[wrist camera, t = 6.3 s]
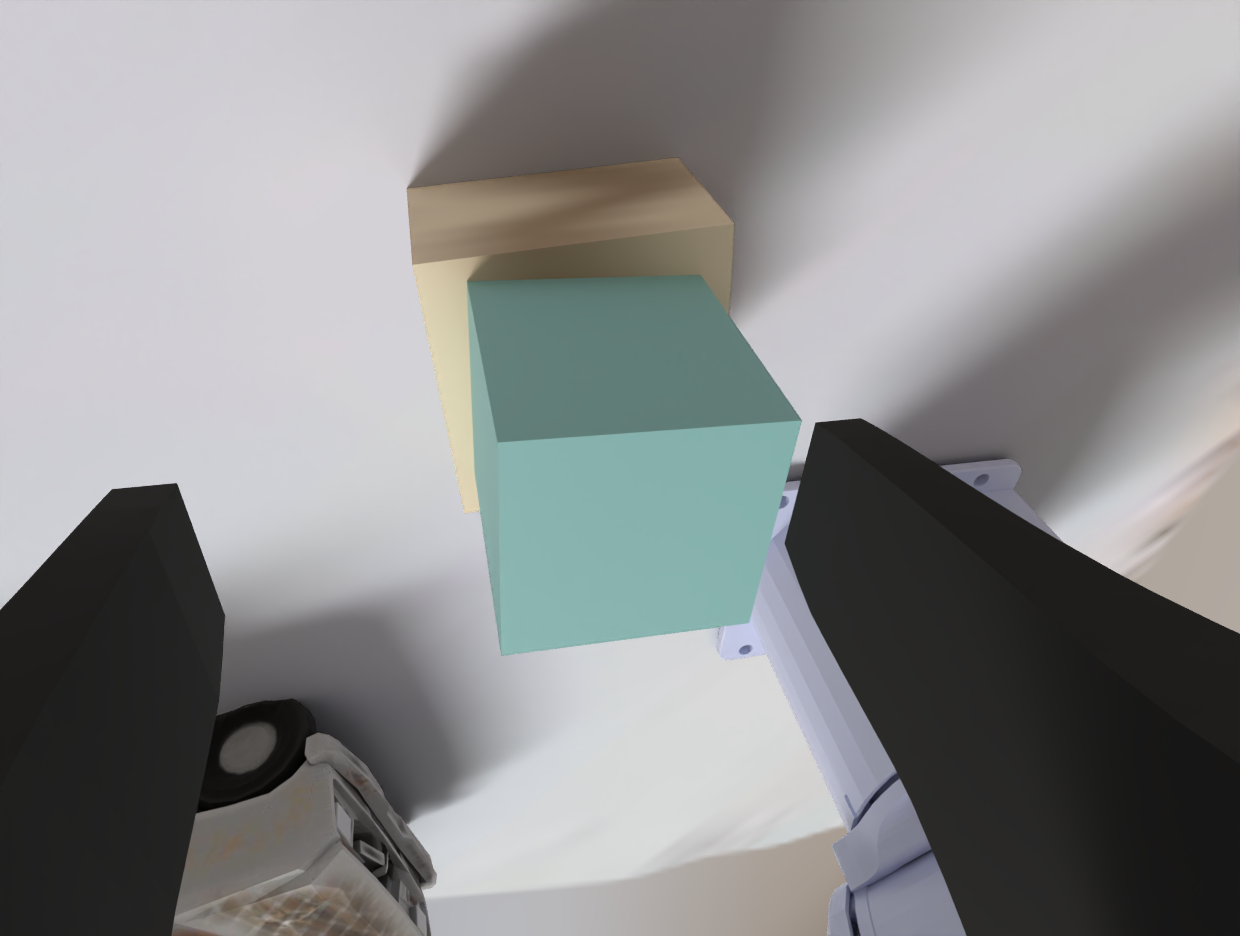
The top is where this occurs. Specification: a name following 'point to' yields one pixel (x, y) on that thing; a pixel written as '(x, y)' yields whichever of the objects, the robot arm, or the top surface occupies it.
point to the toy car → (296, 838)
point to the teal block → (621, 458)
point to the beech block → (552, 253)
